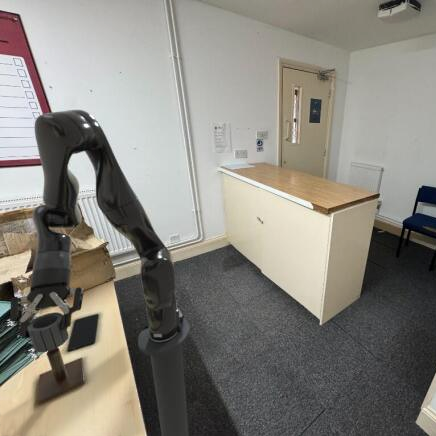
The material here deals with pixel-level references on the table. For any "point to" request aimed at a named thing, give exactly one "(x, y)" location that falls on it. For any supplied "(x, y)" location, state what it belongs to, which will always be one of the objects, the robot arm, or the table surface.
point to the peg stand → (59, 376)
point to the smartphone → (83, 332)
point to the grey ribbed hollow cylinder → (47, 332)
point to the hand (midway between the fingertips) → (45, 333)
